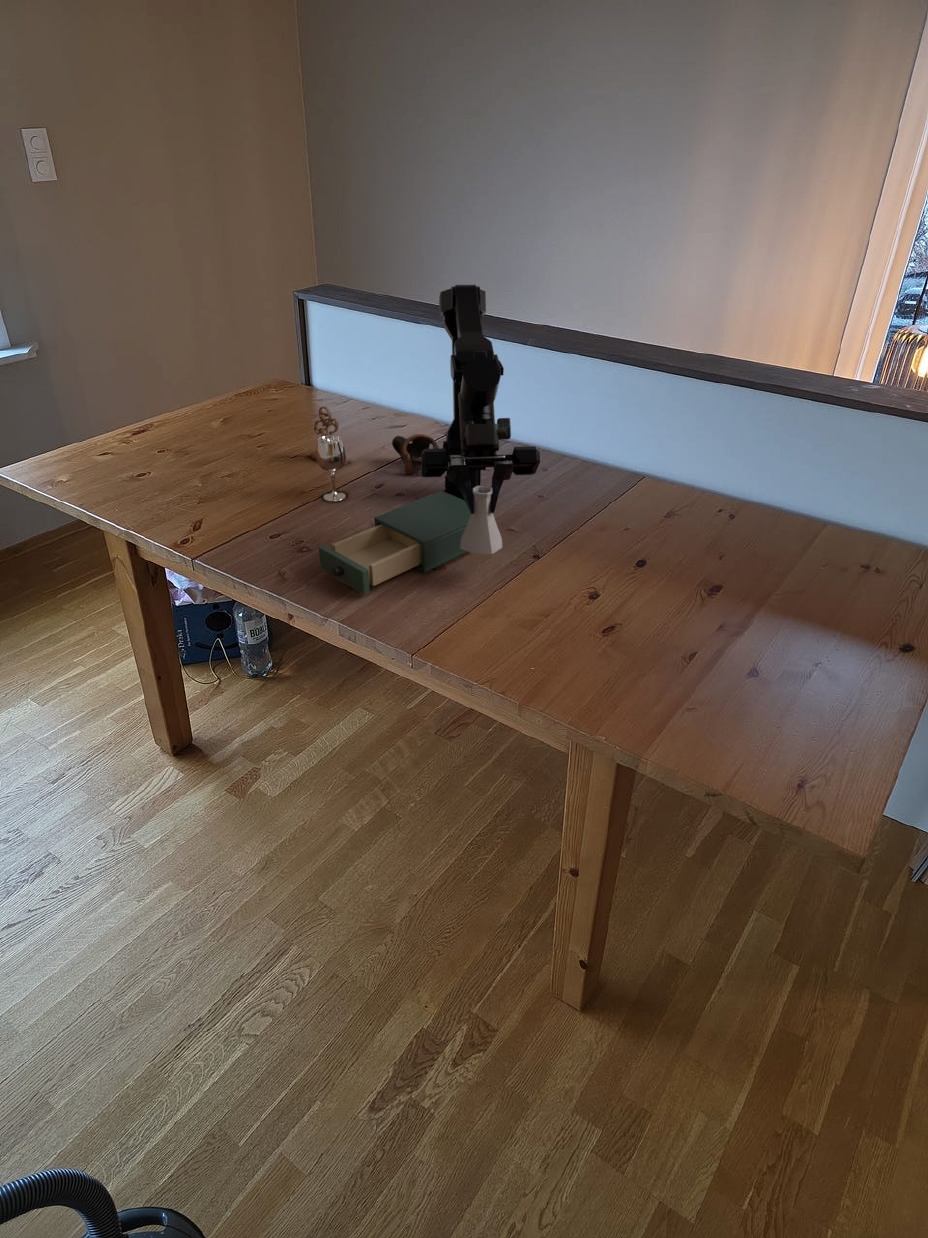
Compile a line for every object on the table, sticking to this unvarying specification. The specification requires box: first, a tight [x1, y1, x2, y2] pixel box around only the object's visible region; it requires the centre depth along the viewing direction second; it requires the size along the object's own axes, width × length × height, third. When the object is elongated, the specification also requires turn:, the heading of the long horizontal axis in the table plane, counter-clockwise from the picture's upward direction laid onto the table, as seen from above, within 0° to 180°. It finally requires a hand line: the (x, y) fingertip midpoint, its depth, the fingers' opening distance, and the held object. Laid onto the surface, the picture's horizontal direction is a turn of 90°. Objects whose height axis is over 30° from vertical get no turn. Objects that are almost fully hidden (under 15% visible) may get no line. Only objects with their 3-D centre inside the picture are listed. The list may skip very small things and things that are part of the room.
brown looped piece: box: [309, 406, 349, 465], centre depth 175 cm, size 9×4×12 cm, turn 47°
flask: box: [460, 485, 503, 555], centre depth 129 cm, size 7×7×10 cm
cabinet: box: [373, 490, 471, 573], centre depth 144 cm, size 16×13×6 cm
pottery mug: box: [391, 433, 440, 475], centre depth 174 cm, size 12×10×8 cm
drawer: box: [317, 524, 422, 595], centre depth 135 cm, size 17×12×4 cm
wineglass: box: [315, 435, 347, 502], centre depth 158 cm, size 6×6×12 cm
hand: (482, 512), depth 127 cm, fingers closed on flask, 3 cm apart
